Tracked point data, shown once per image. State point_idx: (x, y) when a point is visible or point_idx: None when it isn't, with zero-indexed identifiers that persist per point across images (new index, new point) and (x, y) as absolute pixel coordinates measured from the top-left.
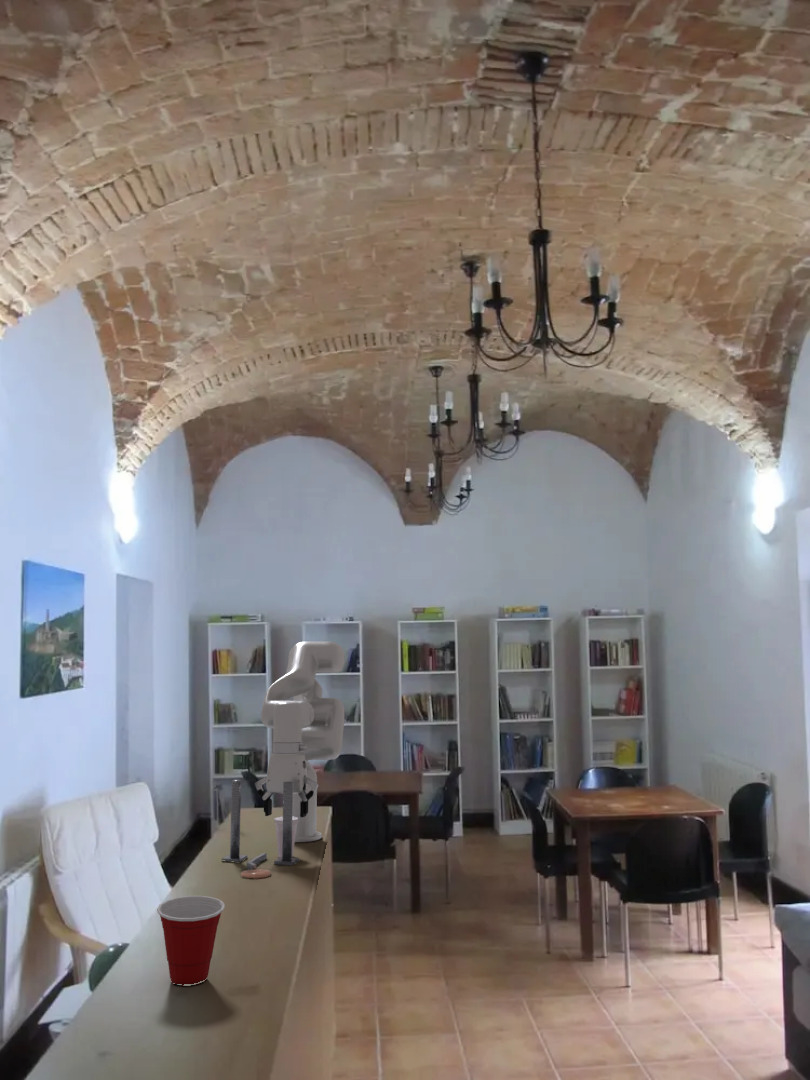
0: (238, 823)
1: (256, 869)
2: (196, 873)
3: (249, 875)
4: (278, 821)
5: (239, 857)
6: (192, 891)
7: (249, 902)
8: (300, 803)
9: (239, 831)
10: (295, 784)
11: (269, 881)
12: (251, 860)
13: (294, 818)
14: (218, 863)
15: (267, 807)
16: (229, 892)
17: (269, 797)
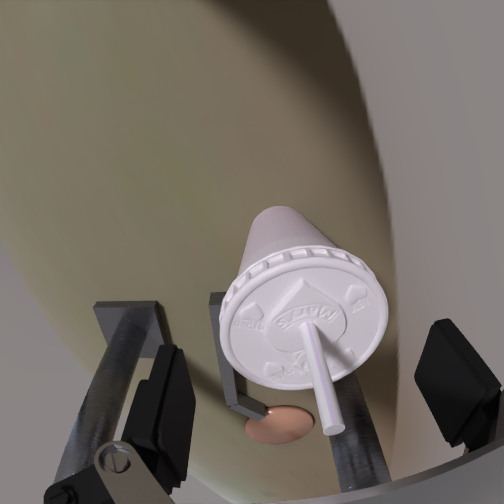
0: (115, 430)
1: (269, 414)
2: None
3: (275, 442)
4: (275, 382)
5: (149, 338)
6: (221, 481)
7: (322, 485)
8: (444, 437)
9: (123, 401)
10: None
11: (323, 439)
12: (228, 392)
13: (362, 313)
14: None
15: (187, 444)
16: (278, 477)
17: (160, 482)
